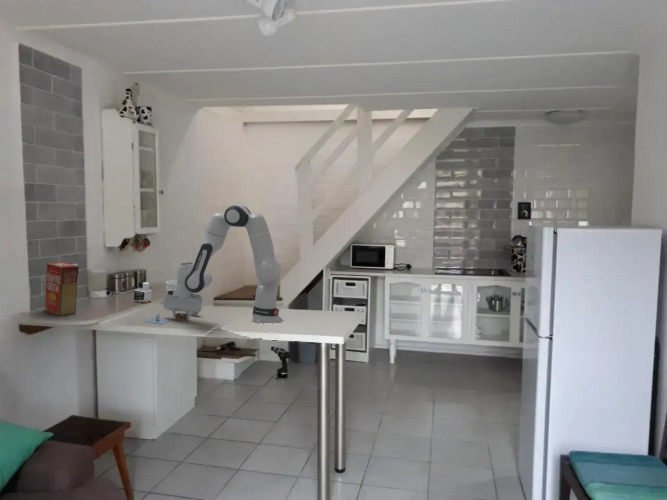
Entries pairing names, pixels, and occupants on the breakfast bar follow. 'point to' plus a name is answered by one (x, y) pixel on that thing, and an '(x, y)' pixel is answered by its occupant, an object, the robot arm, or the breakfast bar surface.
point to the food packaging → (61, 288)
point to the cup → (171, 285)
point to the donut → (192, 313)
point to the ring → (181, 317)
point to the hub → (157, 320)
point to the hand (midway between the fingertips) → (181, 317)
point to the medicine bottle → (142, 291)
